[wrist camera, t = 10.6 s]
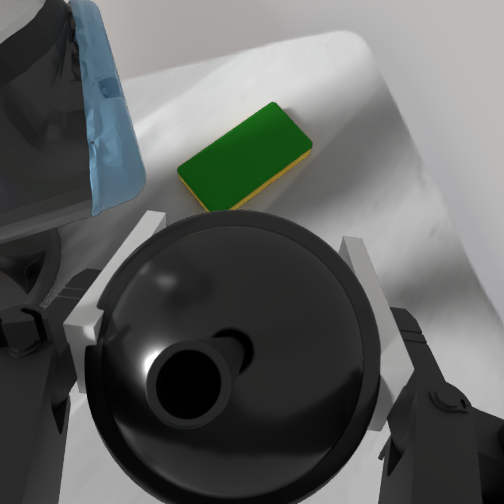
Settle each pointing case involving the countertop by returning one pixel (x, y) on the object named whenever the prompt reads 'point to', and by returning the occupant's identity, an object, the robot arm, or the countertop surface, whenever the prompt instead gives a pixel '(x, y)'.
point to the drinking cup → (233, 362)
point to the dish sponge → (245, 160)
